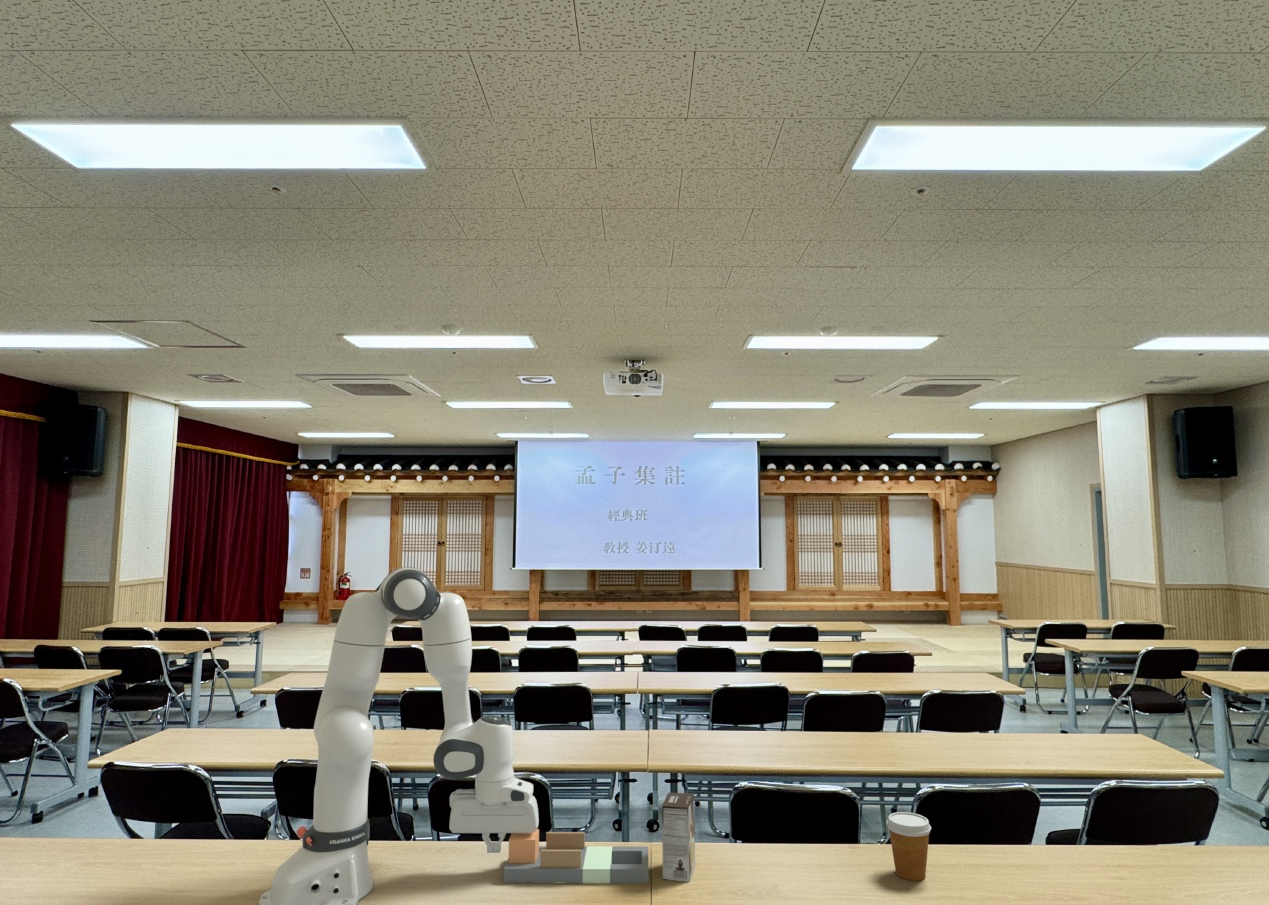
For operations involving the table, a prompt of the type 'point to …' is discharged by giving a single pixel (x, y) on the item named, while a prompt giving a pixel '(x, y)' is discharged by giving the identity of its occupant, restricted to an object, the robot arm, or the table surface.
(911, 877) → the disposable coffee cup
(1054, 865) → the table surface
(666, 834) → the coffee box
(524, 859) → the block
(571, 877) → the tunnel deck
